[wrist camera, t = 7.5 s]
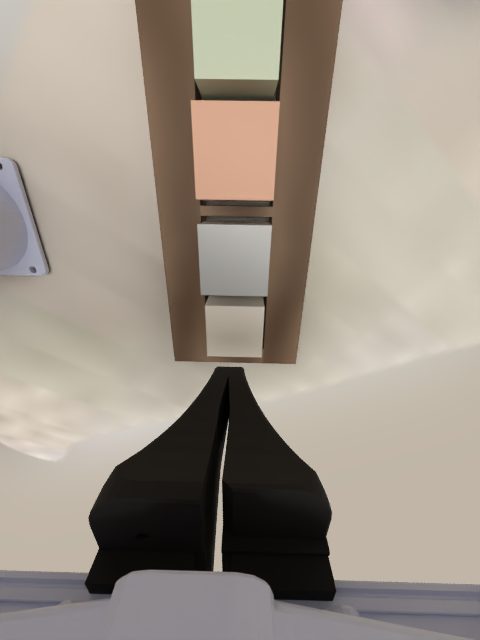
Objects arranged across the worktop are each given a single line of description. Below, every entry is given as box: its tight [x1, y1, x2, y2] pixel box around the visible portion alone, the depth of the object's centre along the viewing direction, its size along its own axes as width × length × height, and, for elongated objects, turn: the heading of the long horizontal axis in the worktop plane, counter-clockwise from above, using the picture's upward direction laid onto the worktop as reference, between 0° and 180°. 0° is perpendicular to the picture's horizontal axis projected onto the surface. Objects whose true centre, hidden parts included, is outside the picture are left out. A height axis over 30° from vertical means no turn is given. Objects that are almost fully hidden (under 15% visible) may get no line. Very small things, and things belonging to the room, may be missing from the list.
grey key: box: [197, 221, 272, 296], centre depth 16 cm, size 4×4×3 cm
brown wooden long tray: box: [135, 0, 343, 364], centre depth 17 cm, size 10×23×2 cm, turn 179°
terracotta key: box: [191, 100, 280, 201], centre depth 13 cm, size 4×4×3 cm
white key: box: [205, 295, 265, 358], centre depth 19 cm, size 4×4×3 cm
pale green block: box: [191, 0, 283, 101], centre depth 12 cm, size 4×4×3 cm
